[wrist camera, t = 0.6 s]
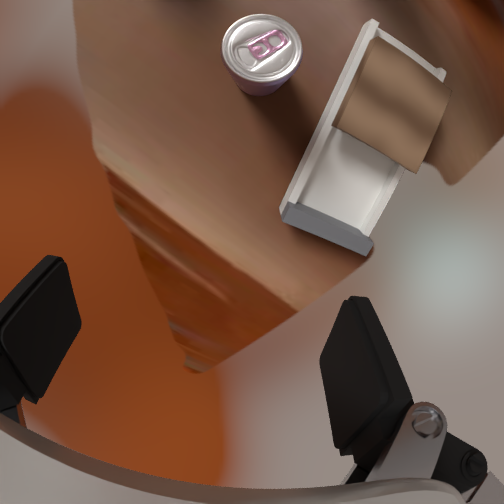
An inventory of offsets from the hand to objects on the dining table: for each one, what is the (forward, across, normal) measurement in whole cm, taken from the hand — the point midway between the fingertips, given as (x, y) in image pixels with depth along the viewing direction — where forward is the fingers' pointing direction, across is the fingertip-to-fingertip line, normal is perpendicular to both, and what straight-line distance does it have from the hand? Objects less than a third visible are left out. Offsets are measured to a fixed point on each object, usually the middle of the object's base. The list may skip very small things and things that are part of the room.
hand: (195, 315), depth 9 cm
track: (+29, -15, -6) cm, 33 cm away
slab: (+27, -16, -10) cm, 33 cm away
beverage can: (+29, -1, -11) cm, 31 cm away
